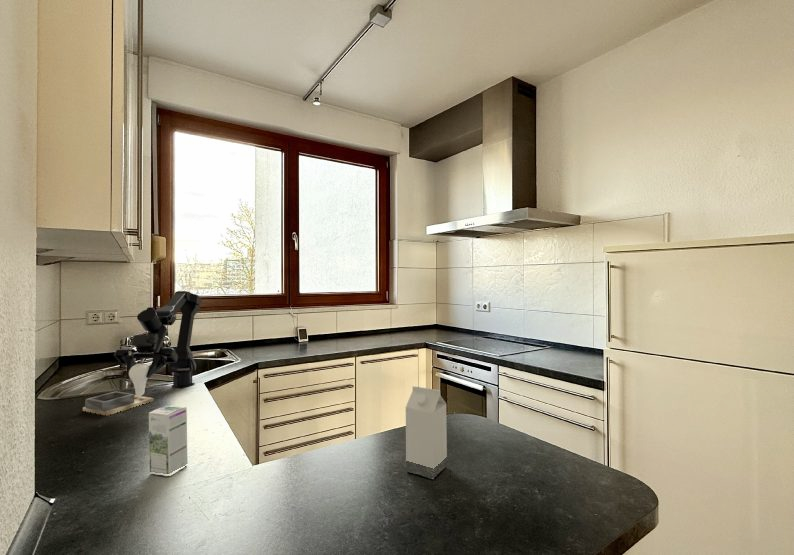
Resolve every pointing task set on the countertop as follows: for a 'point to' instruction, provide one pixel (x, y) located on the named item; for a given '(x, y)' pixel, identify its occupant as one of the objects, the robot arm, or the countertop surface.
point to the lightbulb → (139, 377)
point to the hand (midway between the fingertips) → (137, 377)
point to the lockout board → (114, 402)
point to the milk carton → (426, 427)
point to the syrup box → (168, 439)
